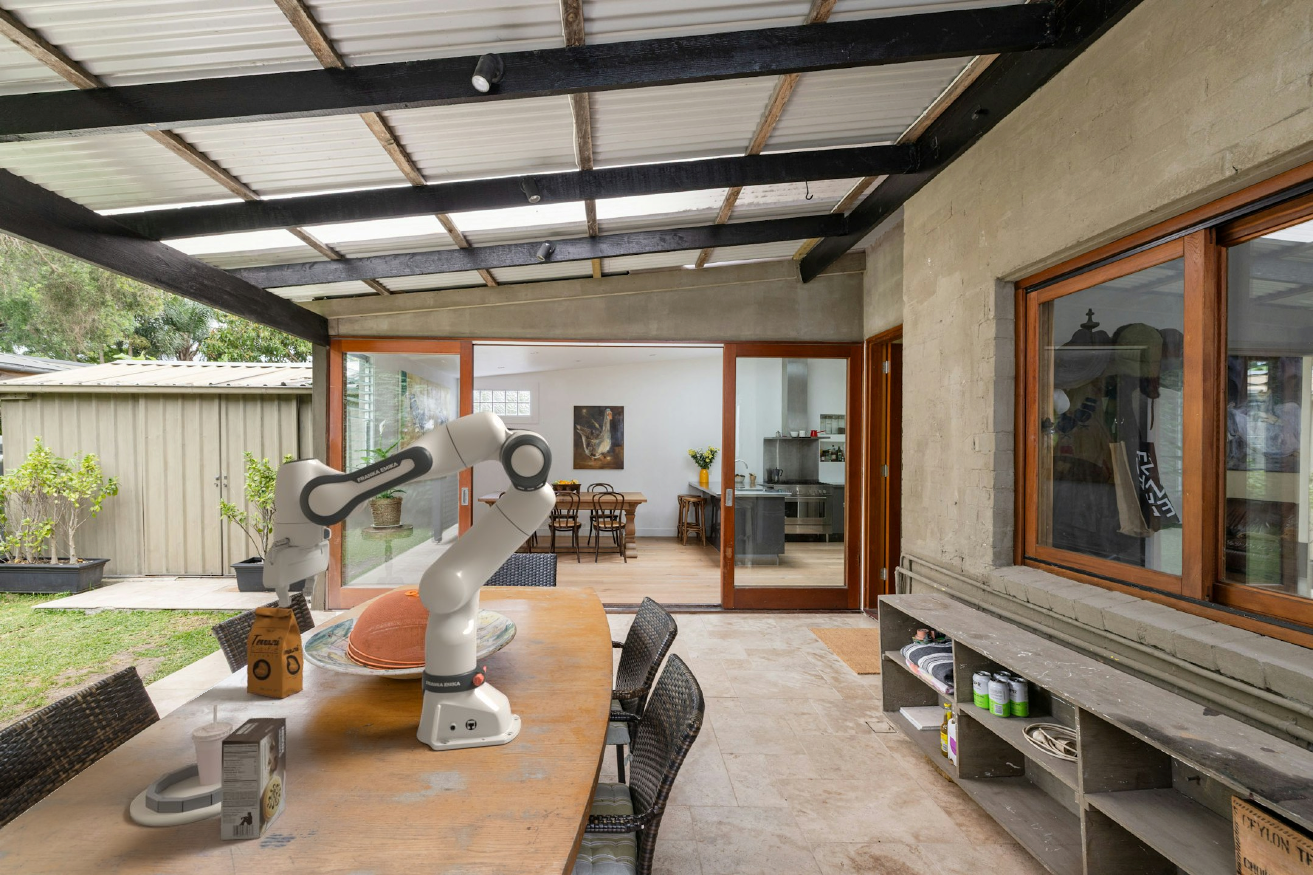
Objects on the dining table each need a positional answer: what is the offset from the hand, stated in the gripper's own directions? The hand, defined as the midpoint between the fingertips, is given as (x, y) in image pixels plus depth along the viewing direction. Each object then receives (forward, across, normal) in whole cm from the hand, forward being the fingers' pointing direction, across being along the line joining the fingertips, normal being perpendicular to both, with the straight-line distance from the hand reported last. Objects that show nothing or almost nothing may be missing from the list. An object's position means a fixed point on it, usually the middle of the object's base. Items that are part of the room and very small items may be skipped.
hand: (297, 600), depth 139 cm
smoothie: (+30, -15, +8) cm, 35 cm away
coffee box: (+31, -28, -7) cm, 42 cm away
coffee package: (+31, +33, +22) cm, 51 cm away
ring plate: (+31, -18, +8) cm, 37 cm away
